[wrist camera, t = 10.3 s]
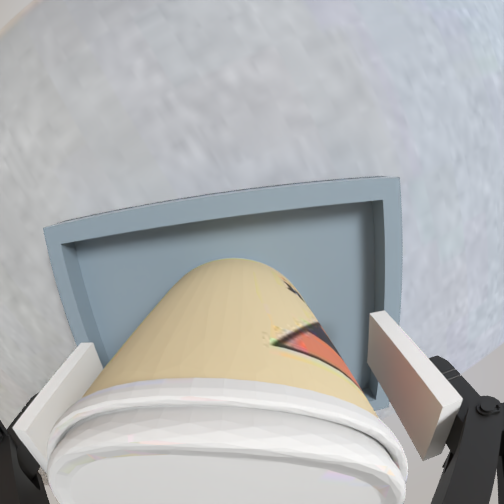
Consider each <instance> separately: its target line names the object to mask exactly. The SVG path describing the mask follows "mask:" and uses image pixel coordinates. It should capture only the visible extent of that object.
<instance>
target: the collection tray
mask: <svg viewBox="0 0 504 504" xmlns="http://www.w3.org/2000/svg"><path fill="white" fill-rule="evenodd" d="M43 230H44V235H45V240H46V245H47V249H48V253H49V258H50V262H51V266H52V270H53V273H54V277H55V281H56V284H57V288H58V291H59V295H60V298H61V301H62V304H63V307H64V311H65V314H66V317H67V320H68V322H69V325H70V328H71V331H72V334H73V336H74V339H75V342H76V344H77V347H78V346H79V344H80V343H94V346H95V349H96V351H97V354H98V357H99V359H100V362H101V364H102V367H103V369H104V368H105V366H106V365H107V364H108V363H109V362H110V360H111V359H112V358H113V357H114V355H115V354H116V353H117V352H118V350H119V349H120V348H121V347H122V346H123V344H124V343H125V342H126V341H127V339H128V338H129V337H130V336H131V335H132V333H133V332H134V331H135V330H136V329H137V327H138V326H139V325H140V324H141V323H142V321H143V320H144V319H145V318H146V317H147V316H148V314H149V313H150V312H151V311H152V310H153V309H154V308H155V306H156V305H157V304H158V303H159V302H160V301H161V299H162V298H163V297H164V296H165V295H166V294H167V293H168V291H169V290H170V289H171V288H172V287H173V286H174V285H175V284H176V283H177V282H178V281H179V280H180V279H181V278H182V277H183V276H184V275H185V274H187V273H188V272H189V271H191V270H192V269H194V268H196V267H198V266H199V265H202V264H204V263H207V262H210V261H213V260H218V259H223V258H244V259H250V260H254V261H258V262H261V263H263V264H266V265H268V266H270V267H272V268H274V269H275V270H277V271H278V272H280V273H281V274H282V275H284V276H285V277H286V278H287V279H288V280H289V281H290V282H291V283H292V284H293V285H294V287H295V288H296V289H297V291H298V292H299V293H300V295H301V296H302V298H303V299H304V300H305V302H306V303H307V305H308V306H309V308H310V309H311V311H312V313H313V314H314V316H315V317H316V319H317V320H318V322H319V323H320V325H321V326H322V328H323V329H324V331H325V332H326V334H327V335H328V337H329V339H330V340H331V342H332V343H333V345H334V346H335V348H336V349H337V351H338V352H339V354H340V356H341V357H342V359H343V361H344V362H345V364H346V365H347V367H348V369H349V370H350V372H351V373H352V375H353V377H354V378H355V380H356V382H357V383H358V385H359V387H360V388H361V390H362V391H363V393H364V395H365V396H366V398H367V400H368V401H369V403H370V405H371V406H372V408H373V410H374V411H376V410H380V409H383V408H387V407H388V406H389V399H388V397H387V396H386V394H385V392H384V390H383V389H382V387H381V385H380V384H379V382H378V380H377V378H376V377H375V375H374V373H373V372H372V370H371V368H370V367H369V365H368V363H367V357H368V340H369V315H370V313H374V312H379V311H384V310H385V311H386V312H387V313H388V314H389V316H390V317H391V318H392V319H393V320H394V321H395V322H396V323H397V324H398V325H399V322H400V309H401V291H402V208H401V190H400V177H385V176H375V177H360V178H347V179H335V180H324V181H313V182H303V183H293V184H284V185H275V186H267V187H258V188H250V189H243V190H235V191H228V192H221V193H214V194H207V195H200V196H194V197H187V198H181V199H175V200H169V201H163V202H157V203H152V204H146V205H140V206H135V207H130V208H124V209H119V210H114V211H109V212H104V213H99V214H94V215H90V216H85V217H80V218H76V219H71V220H67V221H63V222H60V223H57V224H54V225H51V226H48V227H45V228H43Z"/></svg>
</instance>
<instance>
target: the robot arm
mask: <svg viewBox="0 0 504 504" xmlns="http://www.w3.org/2000/svg"><path fill="white" fill-rule="evenodd" d="M367 363H368V365H369V367H370V368H371V370H372V372H373V373H374V375H375V377H376V378H377V380H378V382H379V384H380V385H381V387H382V389H383V390H384V392H385V394H386V396H387V397H388V399H389V401H390V403H391V404H392V406H393V408H394V410H395V411H396V413H397V415H398V417H399V418H400V420H401V422H402V424H403V426H404V427H405V429H406V431H407V433H408V435H409V436H410V438H411V440H412V442H413V444H414V446H415V447H416V449H417V451H418V453H419V455H420V457H421V458H422V460H423V461H424V460H427V459H429V458H432V457H434V456H437V455H439V454H441V453H442V451H443V449H444V446H445V444H447V446H448V447H449V449H450V452H449V454H448V456H447V459H446V461H445V463H444V465H443V468H444V469H443V472H442V475H441V479H440V481H439V484H438V487H437V489H436V492H435V494H434V497H433V499H432V502H431V504H489V501H490V497H491V493H492V488H493V484H494V479H495V474H496V468H497V477H498V478H497V479H498V503H499V504H504V403H500V402H499V400H497V399H495V398H494V397H490V396H480V395H479V394H478V393H477V392H476V391H475V390H474V389H473V388H472V386H471V385H470V384H469V383H468V382H467V381H466V380H465V379H464V378H463V377H462V376H460V373H459V372H458V371H457V370H455V368H454V367H453V366H452V365H451V364H450V363H449V362H448V361H447V360H445V359H443V358H441V357H439V356H434V357H431V358H428V357H427V356H426V355H425V354H424V353H423V352H422V351H421V349H420V348H419V347H418V346H417V345H416V344H415V343H414V342H413V341H412V339H411V338H410V337H409V336H408V335H407V334H406V333H405V332H404V331H403V330H402V328H401V327H400V326H399V325H398V324H397V323H396V322H395V321H394V320H393V319H392V318H391V317H390V316H389V314H388V313H387V312H386V311H385V310H384V311H379V312H374V313H370V315H369V340H368V357H367ZM102 370H103V367H102V364H101V362H100V359H99V357H98V354H97V351H96V349H95V346H94V343H80V344H79V346H78V347H77V348H76V349H75V350H74V351H73V353H72V354H71V355H70V356H69V357H68V358H67V360H66V361H65V362H64V363H63V364H62V366H61V367H60V368H59V369H58V370H57V372H56V373H55V374H54V375H53V376H52V378H51V379H50V380H49V381H48V383H47V384H46V385H45V386H44V387H43V389H42V390H41V391H40V392H39V393H37V394H36V395H35V396H33V397H32V398H31V399H30V400H29V402H28V403H27V404H26V406H25V407H24V408H23V409H22V412H20V413H19V414H18V416H17V417H16V418H15V419H14V421H13V422H12V423H11V425H10V426H9V427H8V429H7V430H6V428H5V427H4V425H3V424H2V422H1V421H0V504H50V503H49V500H48V497H47V494H46V491H45V487H44V484H43V480H42V477H41V475H40V474H39V472H38V470H39V468H40V467H41V468H42V469H43V470H44V471H45V473H46V474H47V464H48V458H47V442H48V438H49V435H50V433H51V430H52V428H53V427H54V425H55V423H56V421H57V420H58V419H59V418H60V417H61V416H62V415H63V413H64V412H65V411H66V410H67V409H68V408H69V407H70V406H71V405H73V404H74V403H75V402H77V401H78V400H80V399H81V398H82V397H83V395H84V394H85V393H86V391H87V390H88V389H89V387H90V386H91V385H92V383H93V382H94V381H95V379H96V378H97V377H98V375H99V374H100V373H101V372H102Z"/></svg>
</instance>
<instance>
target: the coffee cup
mask: <svg viewBox="0 0 504 504" xmlns="http://www.w3.org/2000/svg"><path fill="white" fill-rule="evenodd" d="M47 458H48V464H47V478H48V482H49V486H50V488H51V490H52V492H53V494H54V496H55V498H56V499H57V501H58V503H59V504H404V500H405V495H406V491H405V484H406V481H407V476H408V462H407V459H406V456H405V453H404V450H403V447H402V446H401V444H400V443H399V441H398V440H397V438H396V437H395V435H394V434H393V432H392V431H391V430H390V429H389V428H388V427H387V426H386V425H385V424H384V423H383V422H382V421H381V420H380V419H379V418H378V416H377V415H376V413H375V411H374V410H373V408H372V406H371V405H370V403H369V401H368V400H367V398H366V396H365V395H364V393H363V391H362V390H361V388H360V387H359V385H358V383H357V382H356V380H355V378H354V377H353V375H352V373H351V372H350V370H349V369H348V367H347V365H346V364H345V362H344V361H343V359H342V357H341V356H340V354H339V352H338V351H337V349H336V348H335V346H334V345H333V343H332V342H331V340H330V339H329V337H328V335H327V334H326V332H325V331H324V329H323V328H322V326H321V325H320V323H319V322H318V320H317V319H316V317H315V316H314V314H313V313H312V311H311V309H310V308H309V306H308V305H307V303H306V302H305V300H304V299H303V298H302V296H301V295H300V293H299V292H298V291H297V289H296V288H295V287H294V285H293V284H292V283H291V282H290V281H289V280H288V279H287V278H286V277H285V276H284V275H282V274H281V273H280V272H278V271H277V270H275V269H274V268H272V267H270V266H268V265H266V264H263V263H261V262H258V261H254V260H250V259H244V258H223V259H218V260H213V261H210V262H207V263H204V264H202V265H199V266H198V267H196V268H194V269H192V270H191V271H189V272H188V273H187V274H185V275H184V276H183V277H182V278H181V279H180V280H179V281H178V282H177V283H176V284H175V285H174V286H173V287H172V288H171V289H170V290H169V291H168V293H167V294H166V295H165V296H164V297H163V298H162V299H161V301H160V302H159V303H158V304H157V305H156V306H155V308H154V309H153V310H152V311H151V312H150V313H149V314H148V316H147V317H146V318H145V319H144V320H143V321H142V323H141V324H140V325H139V326H138V327H137V329H136V330H135V331H134V332H133V333H132V335H131V336H130V337H129V338H128V339H127V341H126V342H125V343H124V344H123V346H122V347H121V348H120V349H119V350H118V352H117V353H116V354H115V355H114V357H113V358H112V359H111V360H110V362H109V363H108V364H107V365H106V366H105V368H104V369H103V370H102V372H101V373H100V374H99V375H98V377H97V378H96V379H95V381H94V382H93V383H92V385H91V386H90V387H89V389H88V390H87V391H86V393H85V394H84V395H83V397H82V398H81V399H80V400H78V401H77V402H75V403H74V404H73V405H71V406H70V407H69V408H68V409H67V410H66V411H65V412H64V413H63V415H62V416H61V417H60V418H59V419H58V420H57V421H56V423H55V425H54V427H53V428H52V430H51V433H50V435H49V438H48V442H47Z"/></svg>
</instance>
